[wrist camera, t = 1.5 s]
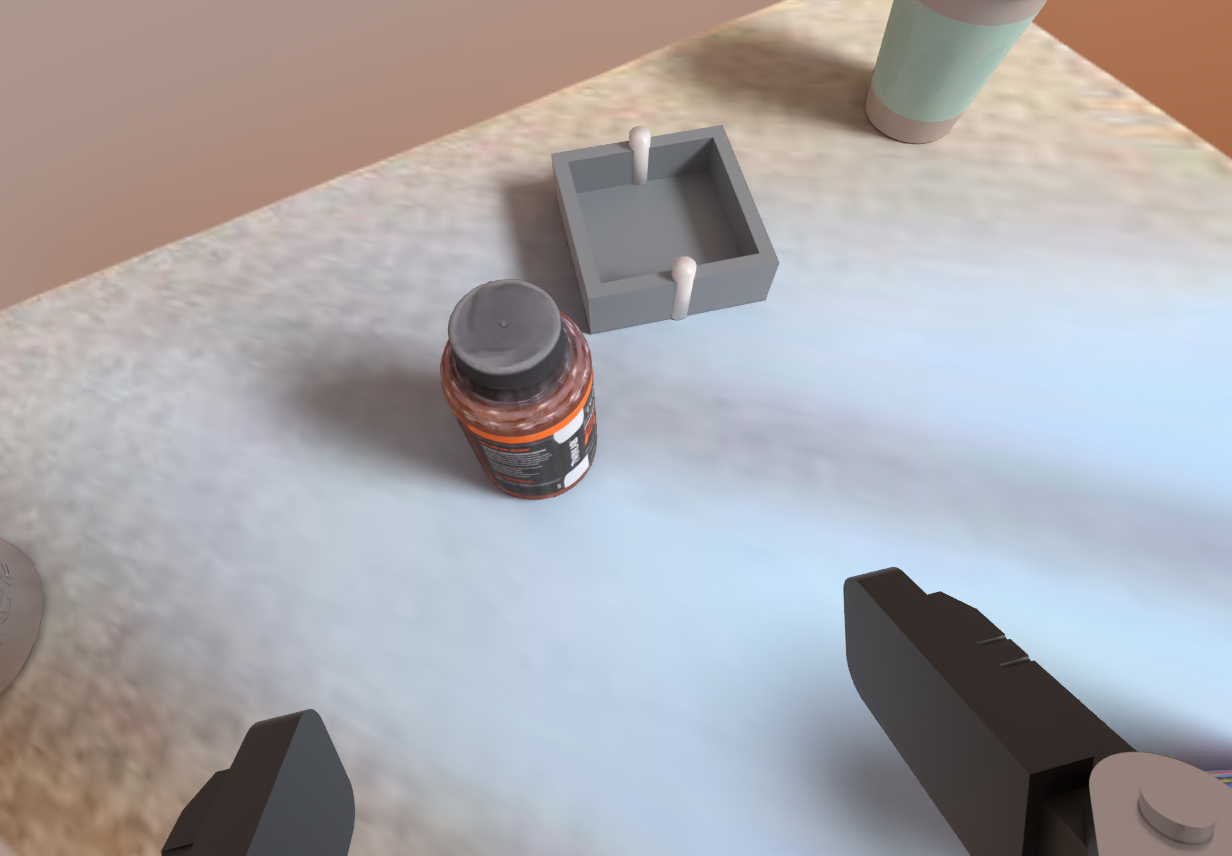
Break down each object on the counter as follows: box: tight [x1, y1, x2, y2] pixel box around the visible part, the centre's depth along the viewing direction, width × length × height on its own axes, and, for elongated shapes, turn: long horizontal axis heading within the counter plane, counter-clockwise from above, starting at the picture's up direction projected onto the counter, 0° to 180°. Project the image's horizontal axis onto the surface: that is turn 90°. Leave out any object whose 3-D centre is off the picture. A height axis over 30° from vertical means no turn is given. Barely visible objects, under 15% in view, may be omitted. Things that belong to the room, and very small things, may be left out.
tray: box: [551, 125, 779, 334], centre depth 36 cm, size 10×10×4 cm
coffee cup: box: [865, 0, 1047, 143], centre depth 37 cm, size 9×8×12 cm
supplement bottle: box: [440, 279, 597, 500], centre depth 27 cm, size 6×6×11 cm
